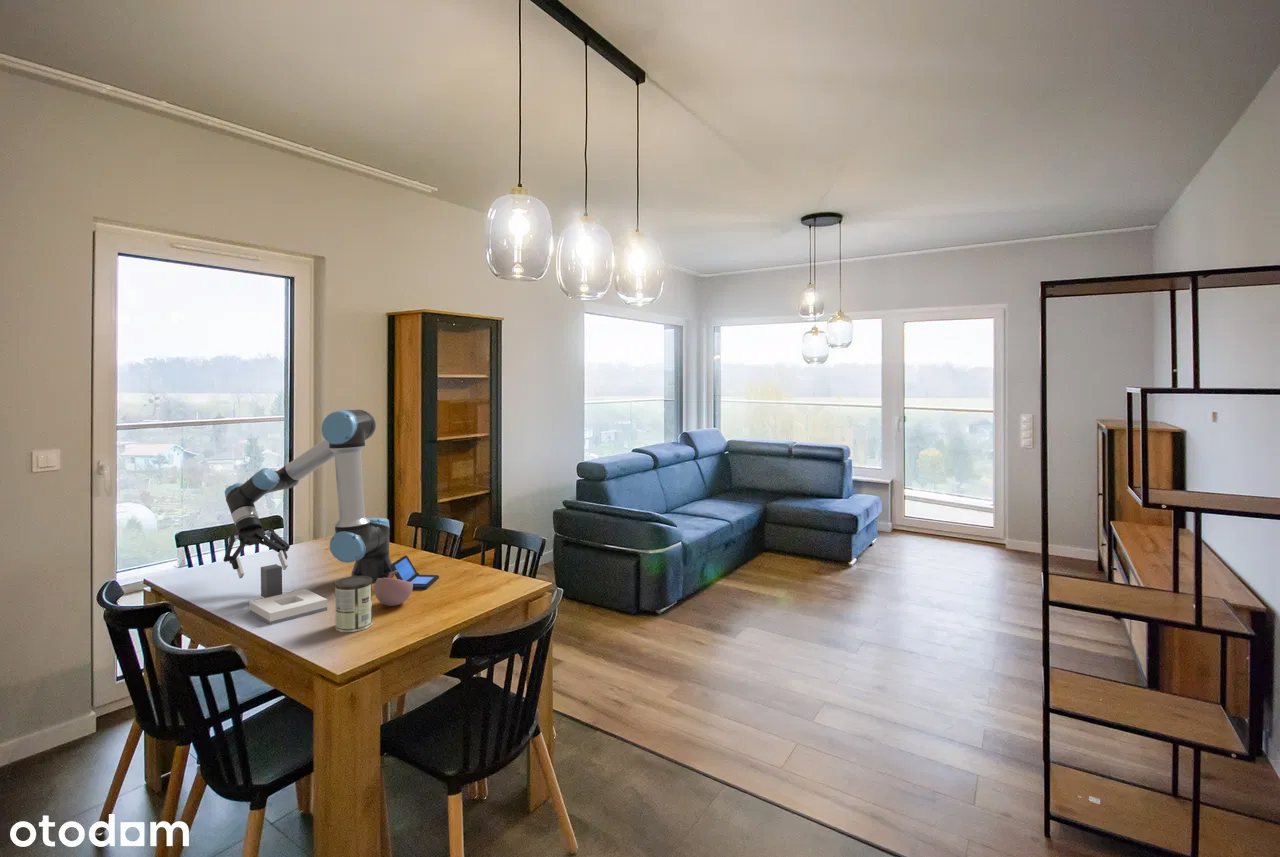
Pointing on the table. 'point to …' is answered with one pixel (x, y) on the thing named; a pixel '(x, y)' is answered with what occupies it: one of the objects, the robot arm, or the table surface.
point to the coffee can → (353, 603)
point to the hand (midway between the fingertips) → (264, 571)
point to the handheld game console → (412, 574)
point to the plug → (271, 580)
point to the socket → (287, 606)
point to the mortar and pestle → (392, 590)
